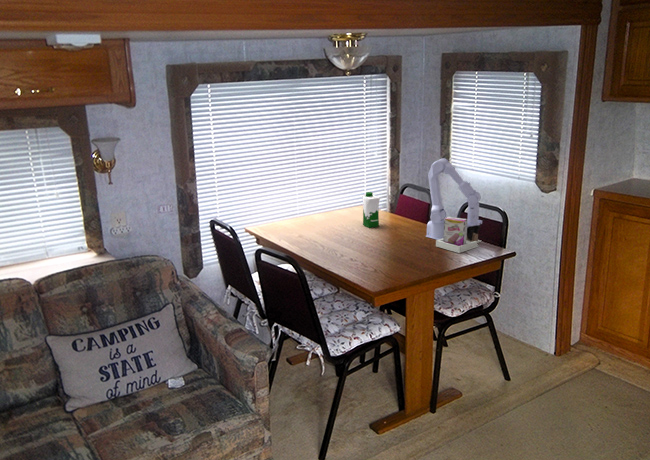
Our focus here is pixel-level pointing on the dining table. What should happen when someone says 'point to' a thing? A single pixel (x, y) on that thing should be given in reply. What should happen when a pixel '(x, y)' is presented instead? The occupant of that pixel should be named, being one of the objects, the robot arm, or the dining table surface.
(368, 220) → the milk carton
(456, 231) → the candy bar box
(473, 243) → the frame
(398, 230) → the dining table surface
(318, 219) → the dining table surface
